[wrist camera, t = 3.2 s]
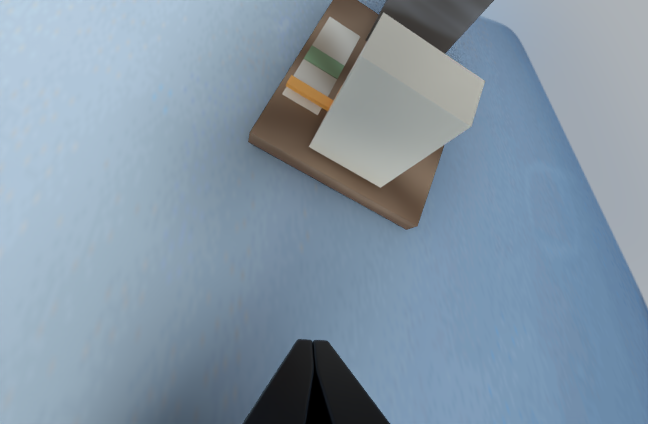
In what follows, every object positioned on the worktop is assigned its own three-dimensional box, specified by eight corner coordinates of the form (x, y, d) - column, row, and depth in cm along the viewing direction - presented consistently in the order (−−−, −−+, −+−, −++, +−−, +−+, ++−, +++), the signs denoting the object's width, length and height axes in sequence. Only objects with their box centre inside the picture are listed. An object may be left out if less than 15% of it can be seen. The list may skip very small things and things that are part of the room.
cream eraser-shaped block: (380, 187, 22) (471, 126, 14) (308, 146, 22) (360, 55, 13) (408, 116, 25) (500, 29, 17) (345, 77, 24) (409, -37, 16)
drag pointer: (346, 124, 23) (357, 108, 21) (284, 87, 22) (290, 67, 20) (351, 114, 23) (362, 98, 21) (290, 77, 22) (297, 57, 21)
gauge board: (406, 229, 25) (506, 195, 16) (248, 142, 22) (262, 45, 14) (456, 84, 30) (550, 0, 22) (334, 3, 28) (383, -128, 19)
